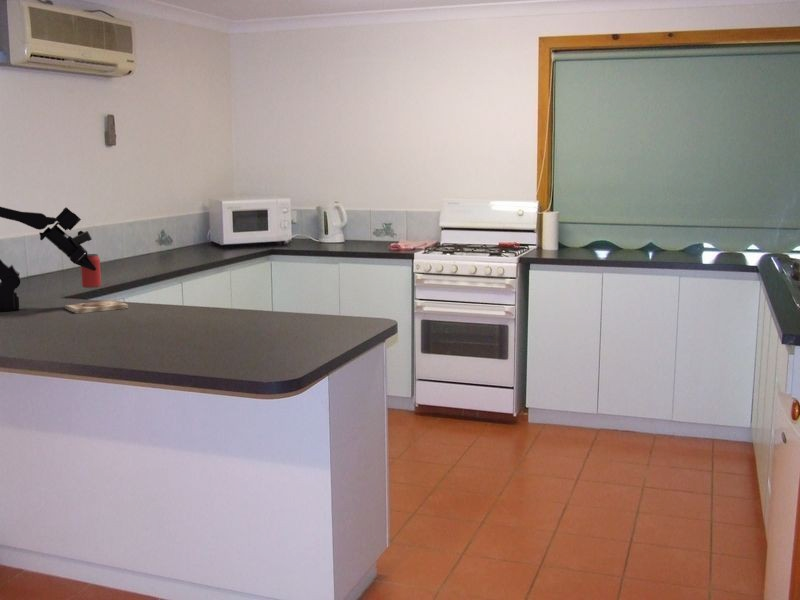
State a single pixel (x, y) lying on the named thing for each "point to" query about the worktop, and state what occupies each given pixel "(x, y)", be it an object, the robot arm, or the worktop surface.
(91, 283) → the beer can
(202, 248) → the worktop surface
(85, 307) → the ash board
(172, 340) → the worktop surface
